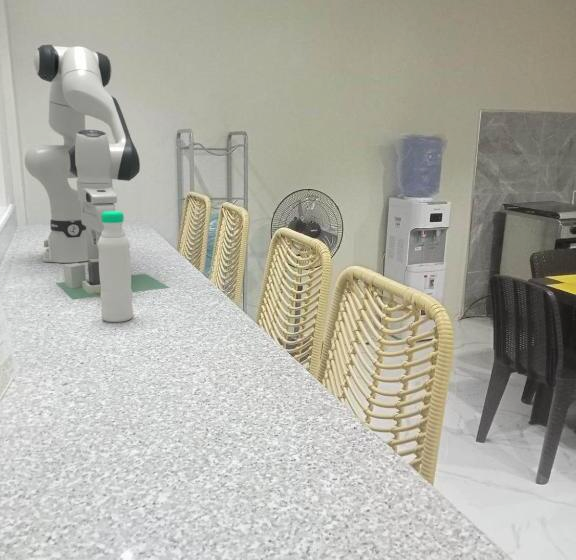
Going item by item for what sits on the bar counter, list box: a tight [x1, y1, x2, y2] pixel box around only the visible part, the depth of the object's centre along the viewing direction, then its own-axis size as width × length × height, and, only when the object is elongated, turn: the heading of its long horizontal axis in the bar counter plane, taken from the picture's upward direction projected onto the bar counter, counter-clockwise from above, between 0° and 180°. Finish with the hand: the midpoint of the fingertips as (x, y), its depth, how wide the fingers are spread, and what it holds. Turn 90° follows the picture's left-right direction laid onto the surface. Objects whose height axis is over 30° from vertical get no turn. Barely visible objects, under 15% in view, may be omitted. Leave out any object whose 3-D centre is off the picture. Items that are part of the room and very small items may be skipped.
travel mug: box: [86, 227, 99, 260], centre depth 174 cm, size 6×7×20 cm
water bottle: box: [98, 210, 134, 323], centre depth 130 cm, size 7×7×25 cm
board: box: [55, 273, 171, 300], centre depth 159 cm, size 20×26×3 cm
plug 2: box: [87, 258, 100, 285], centre depth 154 cm, size 5×5×8 cm
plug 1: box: [63, 262, 87, 288], centre depth 157 cm, size 5×4×6 cm
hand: (98, 246), depth 152 cm, fingers closed
